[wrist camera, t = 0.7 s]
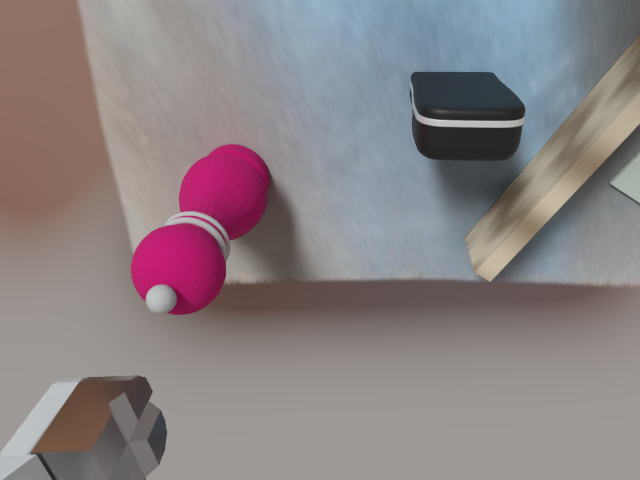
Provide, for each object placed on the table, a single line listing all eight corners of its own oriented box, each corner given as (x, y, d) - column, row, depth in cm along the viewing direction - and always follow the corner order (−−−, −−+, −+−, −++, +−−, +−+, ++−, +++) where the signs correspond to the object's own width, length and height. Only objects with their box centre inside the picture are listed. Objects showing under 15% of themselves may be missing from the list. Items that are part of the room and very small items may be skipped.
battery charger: (404, 117, 43) (413, 167, 33) (408, 70, 41) (418, 109, 31) (489, 118, 43) (524, 170, 33) (497, 71, 41) (536, 110, 31)
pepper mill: (291, 182, 47) (242, 318, 30) (236, 224, 50) (162, 372, 33) (236, 122, 45) (148, 231, 28) (182, 170, 48) (71, 297, 30)
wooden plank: (674, -6, 37) (722, 1, 32) (690, 6, 37) (741, 16, 32) (464, 238, 48) (474, 273, 43) (478, 246, 49) (490, 281, 43)
